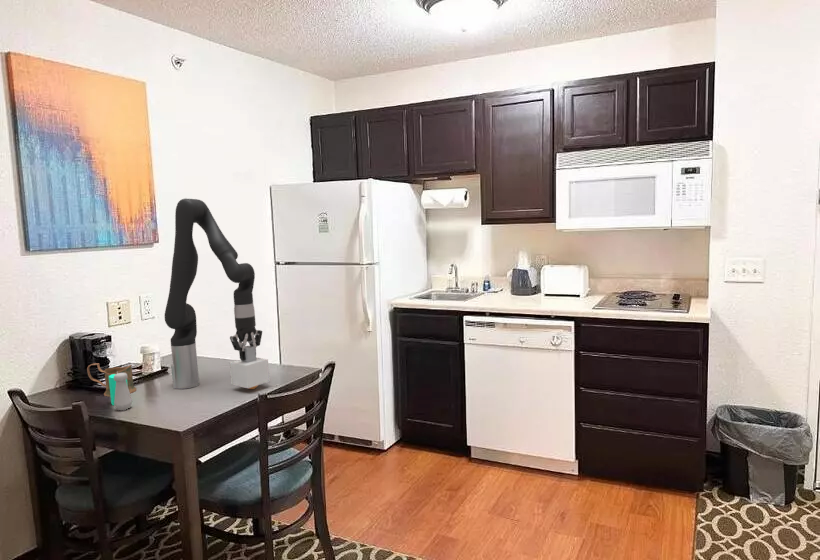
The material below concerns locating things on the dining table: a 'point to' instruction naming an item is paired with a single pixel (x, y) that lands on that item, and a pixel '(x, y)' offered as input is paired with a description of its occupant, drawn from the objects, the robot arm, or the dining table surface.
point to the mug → (114, 371)
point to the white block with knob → (249, 370)
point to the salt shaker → (122, 392)
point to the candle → (112, 387)
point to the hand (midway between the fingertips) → (248, 358)
